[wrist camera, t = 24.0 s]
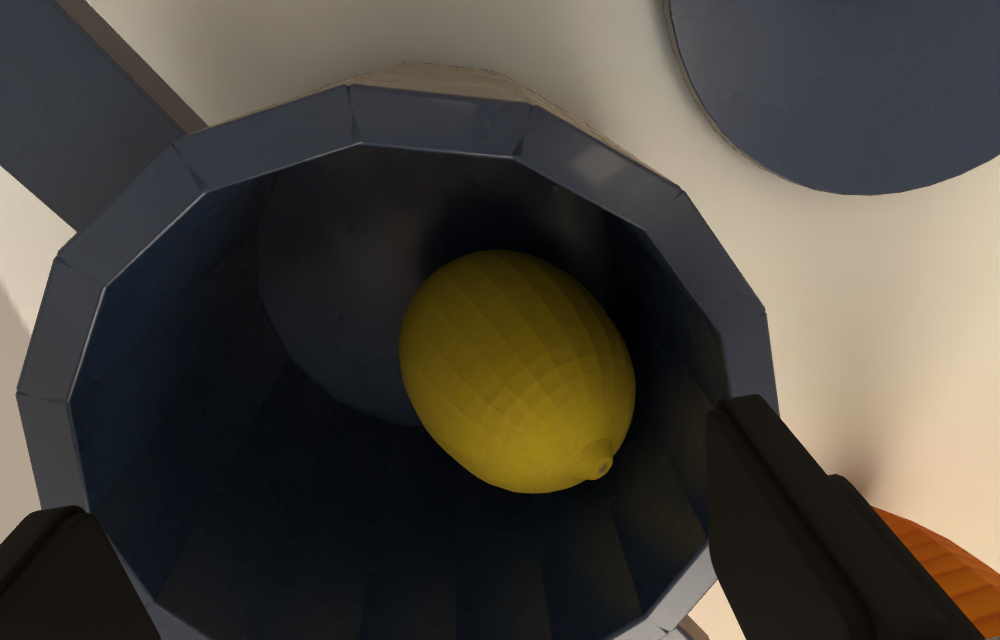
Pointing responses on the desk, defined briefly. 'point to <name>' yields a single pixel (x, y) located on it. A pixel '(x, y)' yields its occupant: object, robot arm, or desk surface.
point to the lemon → (517, 371)
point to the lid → (846, 86)
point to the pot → (350, 348)
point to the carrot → (953, 572)
